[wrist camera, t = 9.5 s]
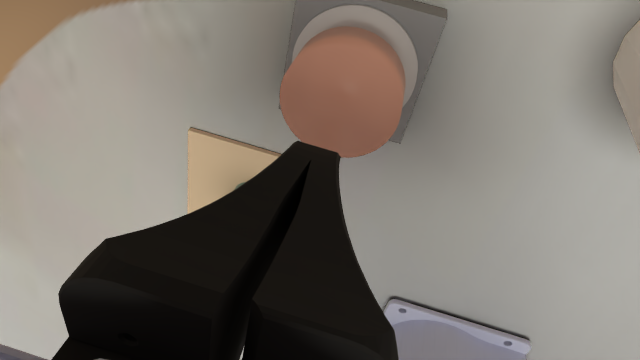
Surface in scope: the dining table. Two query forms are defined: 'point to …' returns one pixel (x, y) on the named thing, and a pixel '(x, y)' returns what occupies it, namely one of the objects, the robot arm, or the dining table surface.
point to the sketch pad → (220, 166)
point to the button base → (387, 22)
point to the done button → (344, 91)
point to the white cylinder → (629, 79)
